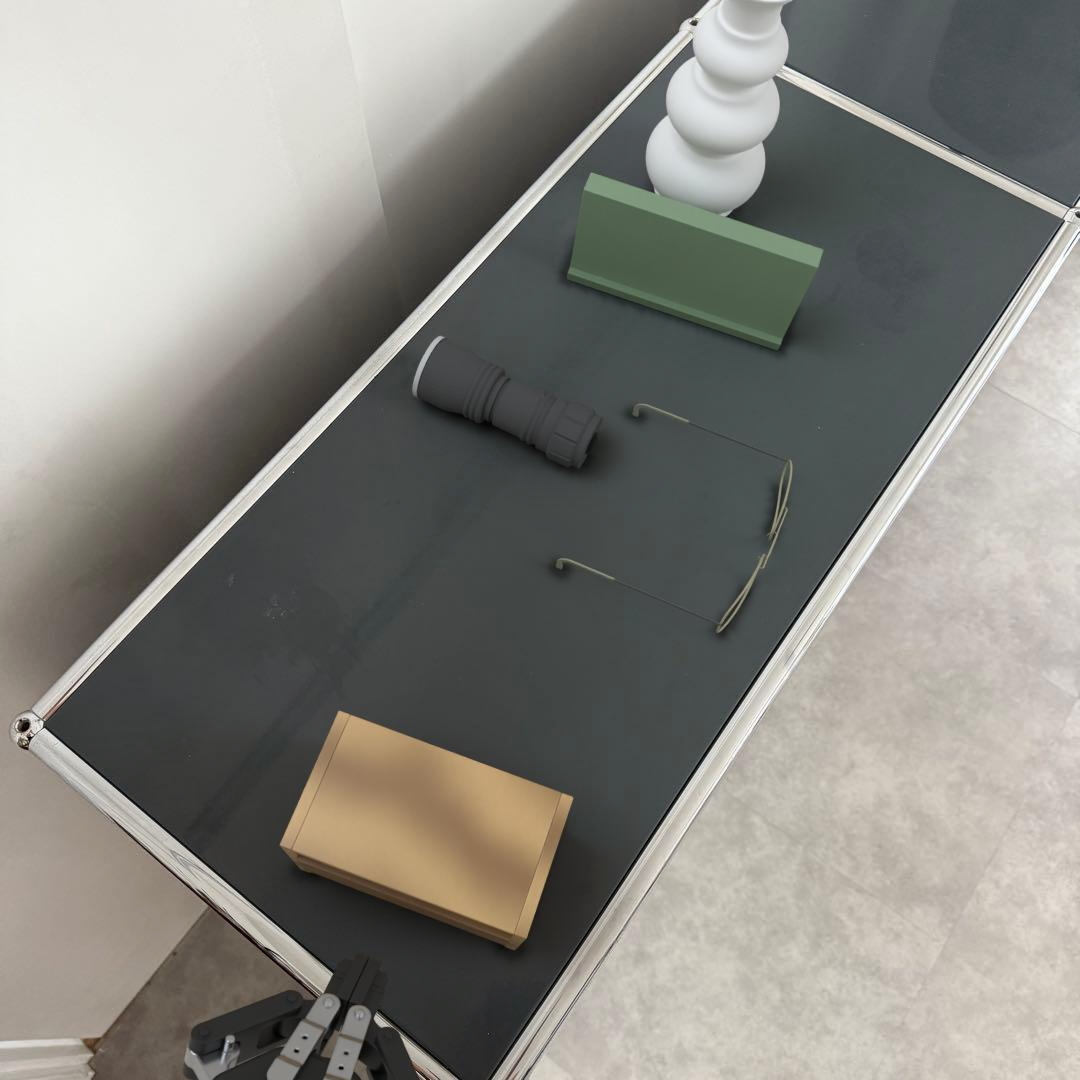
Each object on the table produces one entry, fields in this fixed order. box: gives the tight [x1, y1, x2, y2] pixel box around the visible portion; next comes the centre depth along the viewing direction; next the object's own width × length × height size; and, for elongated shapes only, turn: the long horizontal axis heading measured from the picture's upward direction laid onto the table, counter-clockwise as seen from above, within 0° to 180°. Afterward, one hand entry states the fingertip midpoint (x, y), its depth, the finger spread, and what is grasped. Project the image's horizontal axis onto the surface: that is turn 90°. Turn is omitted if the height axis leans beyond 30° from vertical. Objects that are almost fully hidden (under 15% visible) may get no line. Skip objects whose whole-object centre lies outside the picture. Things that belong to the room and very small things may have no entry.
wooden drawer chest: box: [279, 710, 574, 951], centre depth 73 cm, size 9×16×11 cm, turn 71°
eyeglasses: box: [555, 403, 793, 634], centre depth 88 cm, size 16×15×5 cm
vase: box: [645, 0, 794, 217], centre depth 93 cm, size 11×11×25 cm
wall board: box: [566, 172, 824, 352], centre depth 95 cm, size 5×20×11 cm, turn 71°
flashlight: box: [411, 335, 604, 469], centre depth 90 cm, size 15×5×5 cm, turn 64°
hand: (366, 968), depth 60 cm, fingers closed
